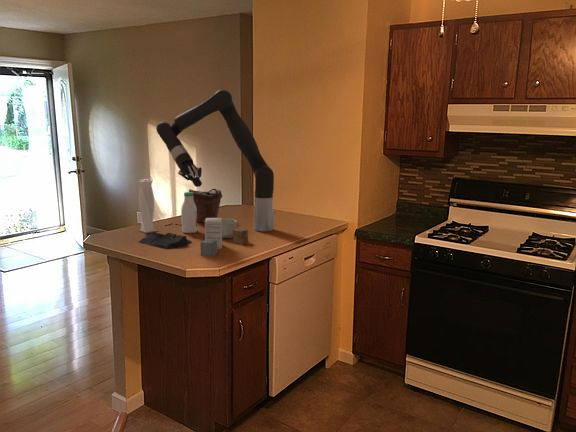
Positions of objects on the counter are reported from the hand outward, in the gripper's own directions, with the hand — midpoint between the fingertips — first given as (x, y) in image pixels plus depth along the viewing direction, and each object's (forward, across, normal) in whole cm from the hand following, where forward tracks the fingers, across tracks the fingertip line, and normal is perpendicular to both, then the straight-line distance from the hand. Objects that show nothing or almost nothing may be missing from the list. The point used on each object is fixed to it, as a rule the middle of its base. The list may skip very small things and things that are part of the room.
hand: (199, 185), depth 231 cm
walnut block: (+30, +10, +6) cm, 33 cm away
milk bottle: (+7, +7, +30) cm, 32 cm away
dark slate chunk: (+14, -14, +24) cm, 31 cm away
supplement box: (+28, -4, +9) cm, 30 cm away
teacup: (+21, +12, +16) cm, 29 cm away
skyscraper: (-4, -7, +40) cm, 41 cm away
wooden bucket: (-3, +31, +40) cm, 51 cm away
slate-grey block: (+34, -14, +3) cm, 37 cm away
